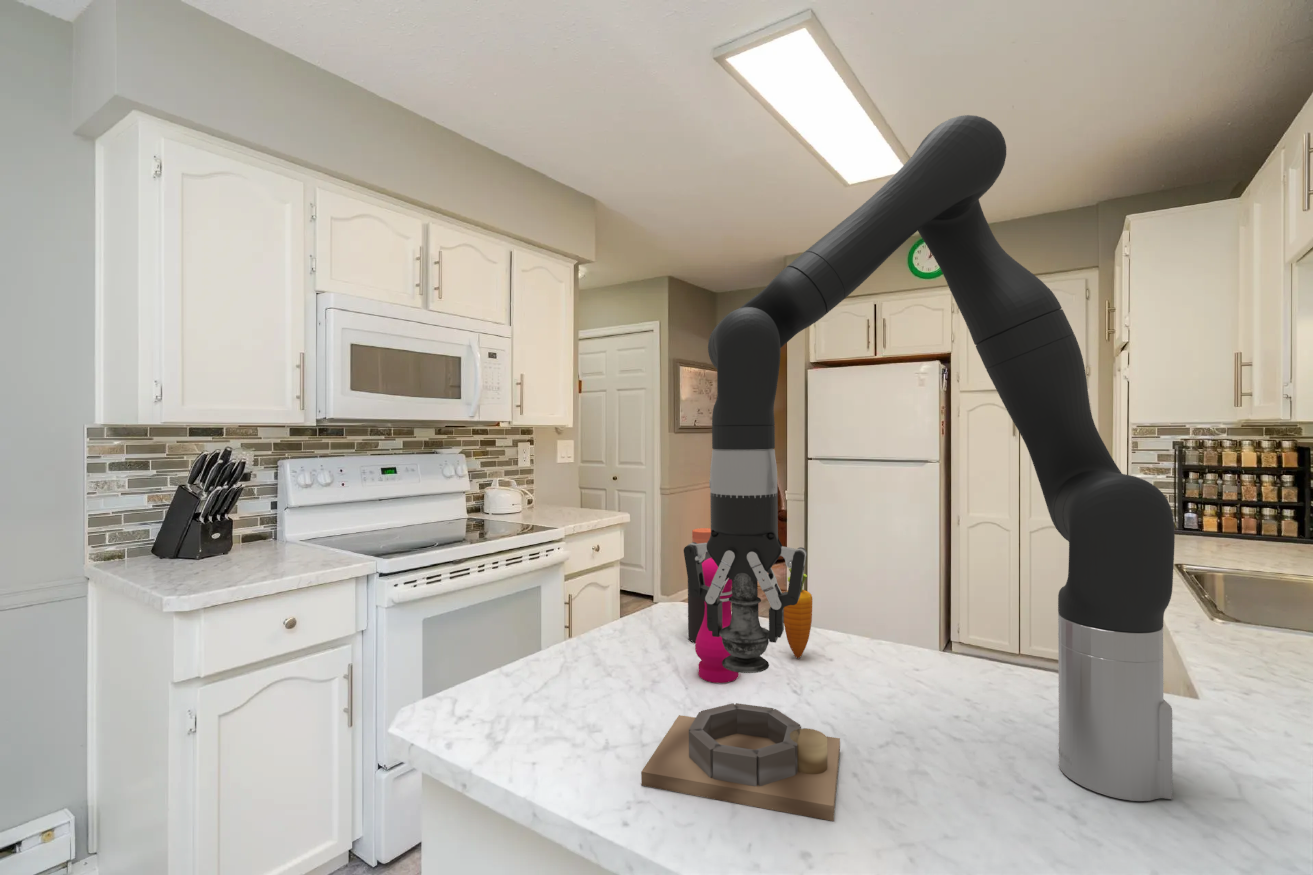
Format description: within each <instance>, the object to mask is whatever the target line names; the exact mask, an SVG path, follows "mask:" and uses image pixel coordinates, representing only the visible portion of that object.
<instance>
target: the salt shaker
mask: <svg viewBox="0 0 1313 875" xmlns="http://www.w3.org/2000/svg"><path fill="white" fill-rule="evenodd" d="M758 585H759V582H758V580H757V581H751V577H749V575H747V574H745V573H739V574H737V575H736V576H735V580H732V596H731V597H730V598H729V601H730V602H731V615H732V617H731V622H730V625H729V626H727V627H724V628H722V629H721V630H720V632H719V635H720V636H721V637H722V643H723V645H724V648H725V649H726V650H727V651H728V652H729V654H731V655H729V656H728V657H726V658H725V659H724V660H723V661H722V665H723V667H724V668H726V669H728V670H730V671H733V672H738V673H739V674H757V673H761V672H764V671H767V670H768V669H769V668H770V667H769V666H770V663H769V661H768V660H766V659H765V658H763V656H762V654H764V653H765V652H766V650H767V648H768V645H769V643H770V642H769V629H767V628H765V627H762V626H761V623H760V618H759V603H761V602H762V599H761V597H759V596H758V593H759V592H758V591H759V589H758V588H759V586H758Z"/></svg>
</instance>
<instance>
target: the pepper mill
mask: <svg viewBox="0 0 1313 875" xmlns="http://www.w3.org/2000/svg"><path fill="white" fill-rule="evenodd" d="M702 568H703V575H704V581H705V585H706V586H708V587H710V586H711V583H712V580H713V578H714V576H715V574H716V572H717V569H718V566H717V565H716V563H715V562H714V560H713V559H712V558H709V559H707V560H705V561H704V562H703V563H702ZM731 596H732V580H730V579H728V581H727V582H726V584H725V586H724V588H723V591H722V593H721V595H720V600H721V601H722V628H724V627H727V626H729V625H730V622H731V617H732V603H731V602H730V601H729V598H730V597H731ZM694 643H695V642H694ZM694 648H695V649H694V650H695V654H696V656H697V657H698V658H699V659H700V661H699V663H698V664H697V665H698V677H699V678H700V679H702V680H703V681H706V682H708V683H713V684H725V683H731V682H734V681H736V680H737V679H738V678H739V674H740V673H738V672H733V671H730V670H728V669H726V668H724V667H723V665H722V661H723V660H724V659H725V658H726V657H728V656H729V655H731V654H729V652H728V651H727V650H726V649H725V648H724V645H723V643H722V637H721V636H719V637H713V636H712V631H709V630H708V628H707V604H706V602H705V614H704V619H703V622H702V625H701V627H700V630H699V632H698V634H697V638H696V643H695V644H694Z"/></svg>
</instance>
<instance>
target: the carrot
mask: <svg viewBox="0 0 1313 875" xmlns="http://www.w3.org/2000/svg"><path fill="white" fill-rule="evenodd" d="M788 571H789V573H790V574H791V568H788ZM807 577H808V575H807V574H806V573H804V574H803V581H802V587H801V594H800V598H799V600H798V602H797V604H795V605H789V606H786V607H784V631H785V632H784V633H785V635H786V639H787V643H788V645H789V648H790V650H791V652H792V654H793V656H794V657H795V658H796V659H798V660H799V659H800V658H801V657H802V655H803V654H804V651H805V649H806V648H807V645H808V642H809V639H810V635H811V630H812V629H811V628H812V621H813V596H812V595H813V594H811V592H809V591H807V590H805V589H803V587H804V585H805V581H806V579H807ZM789 581H790V576H788V577H787V582H788V583H789ZM787 591H788V589H787V590H786V591H785V592H787Z"/></svg>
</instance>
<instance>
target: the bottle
mask: <svg viewBox="0 0 1313 875" xmlns="http://www.w3.org/2000/svg"><path fill="white" fill-rule="evenodd" d="M691 534H692V537H691V538H692V539H691V540H692V542H696V543H697V544H699V543H707V542H708V540H709V538H710V535H711V527H709V528H708V527H704V528H703V527H702V528H700V527H699V528H694V529H692V533H691ZM692 542H691V543H692ZM709 558H712V557H711V556H710V554H709V553H708V552H706V554H705V559H704V560H703V561H702V563H703V562H704V561H705V560H707V559H709ZM704 614H705V601H704V600H703V599H701V598H698V597H697V598H695V597H692V596H691V594H690V589H689V582H688V581H687V627H688V628H687V630H688V631H687V633H688V634H687V637H688V639H689V641H691V642H693V643H696V638H697V634H698V632H699V630H700V627H701V625H702V622H703V619H704Z"/></svg>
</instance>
